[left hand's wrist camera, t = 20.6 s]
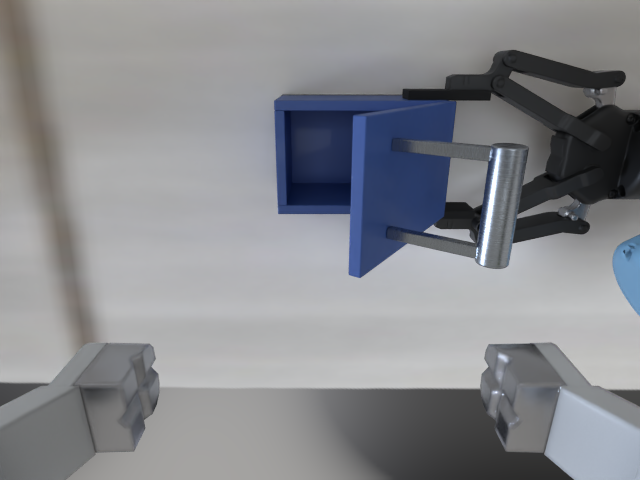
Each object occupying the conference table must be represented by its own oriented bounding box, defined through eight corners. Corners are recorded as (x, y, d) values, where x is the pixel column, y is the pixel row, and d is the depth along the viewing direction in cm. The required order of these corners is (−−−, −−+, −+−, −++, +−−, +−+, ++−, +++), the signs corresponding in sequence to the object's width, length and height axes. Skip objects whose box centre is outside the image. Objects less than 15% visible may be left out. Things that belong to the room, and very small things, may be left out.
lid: (348, 275, 26) (487, 315, 22) (352, 114, 23) (518, 125, 18) (434, 215, 37) (538, 234, 33) (446, 100, 34) (563, 105, 29)
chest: (285, 188, 45) (277, 214, 37) (282, 94, 42) (273, 100, 34) (416, 188, 45) (438, 214, 37) (424, 94, 42) (449, 100, 34)
